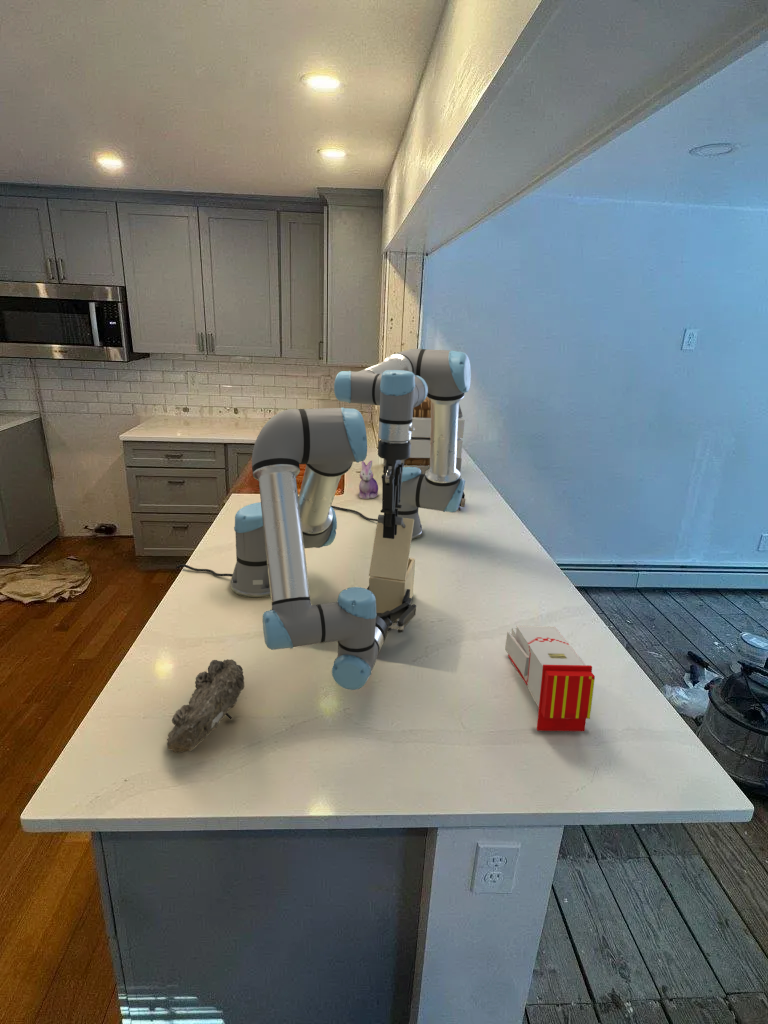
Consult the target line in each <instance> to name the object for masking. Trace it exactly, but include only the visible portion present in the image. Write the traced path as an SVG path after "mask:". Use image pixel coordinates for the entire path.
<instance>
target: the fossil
mask: <svg viewBox="0 0 768 1024" xmlns="http://www.w3.org/2000/svg"><path fill="white" fill-rule="evenodd" d="M243 670H244V669H243V667H242V665H240V664H237V662H236V661H235V660H234V659H232V658H231V659H227V658H226V659H224V660H223V661H222V660H217V659H212V660H211V661H210V663H209V665H208V666H207V671H201V672H199V673H198V674H197V675H196V676H195V680H194V684H195V685H194V687H195V689H194V690H193V693H192V694H191V697H190V698H189V700H188V704H184V705H182V706H181V707H180V709H177V710H176V711H175V713H174V715H173V716H172V718H171V723H172V724H173V727H172V730H171V731H170V732H168V734H167V738H166V741H167V742H166V745H167V749H168V750H169V751H173V752H174V753H176V754H178V753H182V752H188V751H189V752H192V751H193V750H195V748H196V747H197V746H199V744H200V743H201V742H203V741H204V740H205V739H206V738H207V737H208V736H209V735H210V734H211V733H212V732H214V730H215V729H217V727H218V726H219V724H220V722H221V721H222V720H223V719H224V718H225V716H226V717H227V719H229V720H233V717H232V715H230V714H229V710H230V709H231V708H234V706H235V704H236V703H237V702H238V699H239V697H240V695H241V693H242V691H243V690H245V689H244V688H245V675H244V671H243Z"/></svg>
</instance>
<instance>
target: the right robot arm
mask: <svg viewBox="0 0 768 1024" xmlns="http://www.w3.org/2000/svg"><path fill="white" fill-rule="evenodd" d="M471 379H472V369H471V362H470V357H469V355H468V354H467V353H465V352H463V351H458V350H453V349H450V350H449V349H429V348H428V349H427V348H426V349H425V348H411V349H406V350H402V351H399V352H396V353H395V352H394V353H392V354H390V355H388V356H386V357H385V358H384V360H383V361H382V362H379V363H377V364H374V365H371V366H369V367H367V368H363V369H361V370H358V371H352V370H346V371H345V370H341V371H339V372H338V373H337V374H336V376H335V379H334V384H333V388H334V389H333V392H334V396H335V398H336V400H337V401H338V402H343V403H348V404H359V405H360V404H361V405H372V406H379V418H378V434H377V439H379V440H378V442H377V456H378V457H379V458H380V459H383V460H384V459H385V460H386V466H385V465H384V464H383V467H382V469H383V470H382V473H383V474H382V475H381V483H382V487H381V488H382V489H381V490H382V491H381V493H382V496H381V503H382V504H381V509H380V513H382V514H383V515H384V523H383V538H389V539H394V537H395V535H396V534H397V525H395V519H396V517H403V518H409V519H414V526H413V533H412V539H411V540H415V539H418V538H420V537H421V536H422V535H423V525H422V524H421V518H420V515H419V509H425V510H433V511H439V512H440V511H441V512H443V513H445V512H447V513H455V512H457V511H458V510H459V509H458V507H459V505H460V502H461V498H462V495H463V491H464V490H465V484H466V480H465V479H464V478H462V477H461V474H460V472H459V471H458V470H457V469H456V455H457V433H458V412H459V405H460V401H461V400H462V399H464V397H465V393H468V392H469V391H470V388H471ZM426 397H427V398H429V399H430V400H431V435H430V466H429V468H428V469H427V470H426V471H425V473H422V469H421V468H419V467H417V466H405V465H404V464H403V463H401V460H405V459H408V458H409V457H410V452H411V443H410V441H409V440H410V439H411V431H414V427H411V425H412V417H413V408H414V407H417V406H419V405H420V404H421V403H422V402H423V401H424V400H425V399H426ZM403 466H404V467H403ZM298 498H299V495H298ZM331 507H332V508H333V509H336V510H340V511H346V512H350V513H355V514H357V515H359V516H360V517H362V518H363V519H365V520H366V521H372V522H377V521H378V518H370V517H367V516H365V515H364V514H363V513H361V512H359V511H357V510H354V509H350V508H345V507H339V506H337V505H331Z"/></svg>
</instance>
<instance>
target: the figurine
mask: <svg viewBox="0 0 768 1024" xmlns="http://www.w3.org/2000/svg"><path fill="white" fill-rule="evenodd" d="M372 466H373V460H369V461H368V463H367V464H366V462H365V460H364V461H361V471H360V472H359V478H360V482H359V484H358V490H359V492H358V497H359V499H363V500H369V499H374V498H377V497H378V493H379V485H378V481H377V480H376V478H374V473H373V471H372Z"/></svg>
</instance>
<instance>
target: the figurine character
mask: <svg viewBox="0 0 768 1024" xmlns="http://www.w3.org/2000/svg"><path fill="white" fill-rule="evenodd" d="M465 496H466V494H465V492H464V491H463V495H462V498H461V502H460V505H459V507H458V509H457V510H458V511H461V510H462V509H461V508H465V505H466V497H465Z"/></svg>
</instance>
